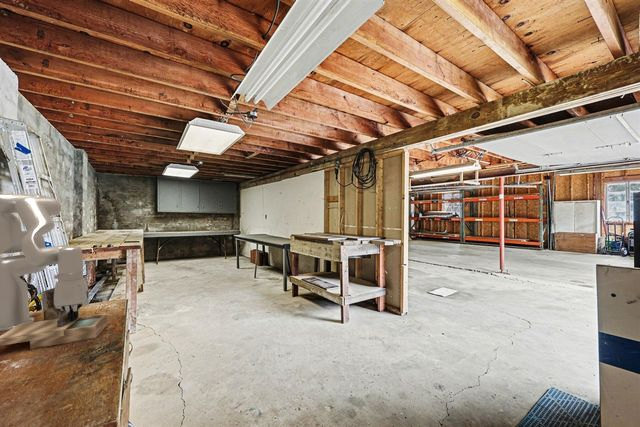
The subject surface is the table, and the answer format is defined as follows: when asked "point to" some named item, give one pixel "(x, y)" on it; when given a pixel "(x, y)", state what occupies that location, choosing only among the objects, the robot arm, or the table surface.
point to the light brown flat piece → (36, 330)
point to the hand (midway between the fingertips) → (73, 320)
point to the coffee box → (51, 306)
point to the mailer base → (76, 331)
